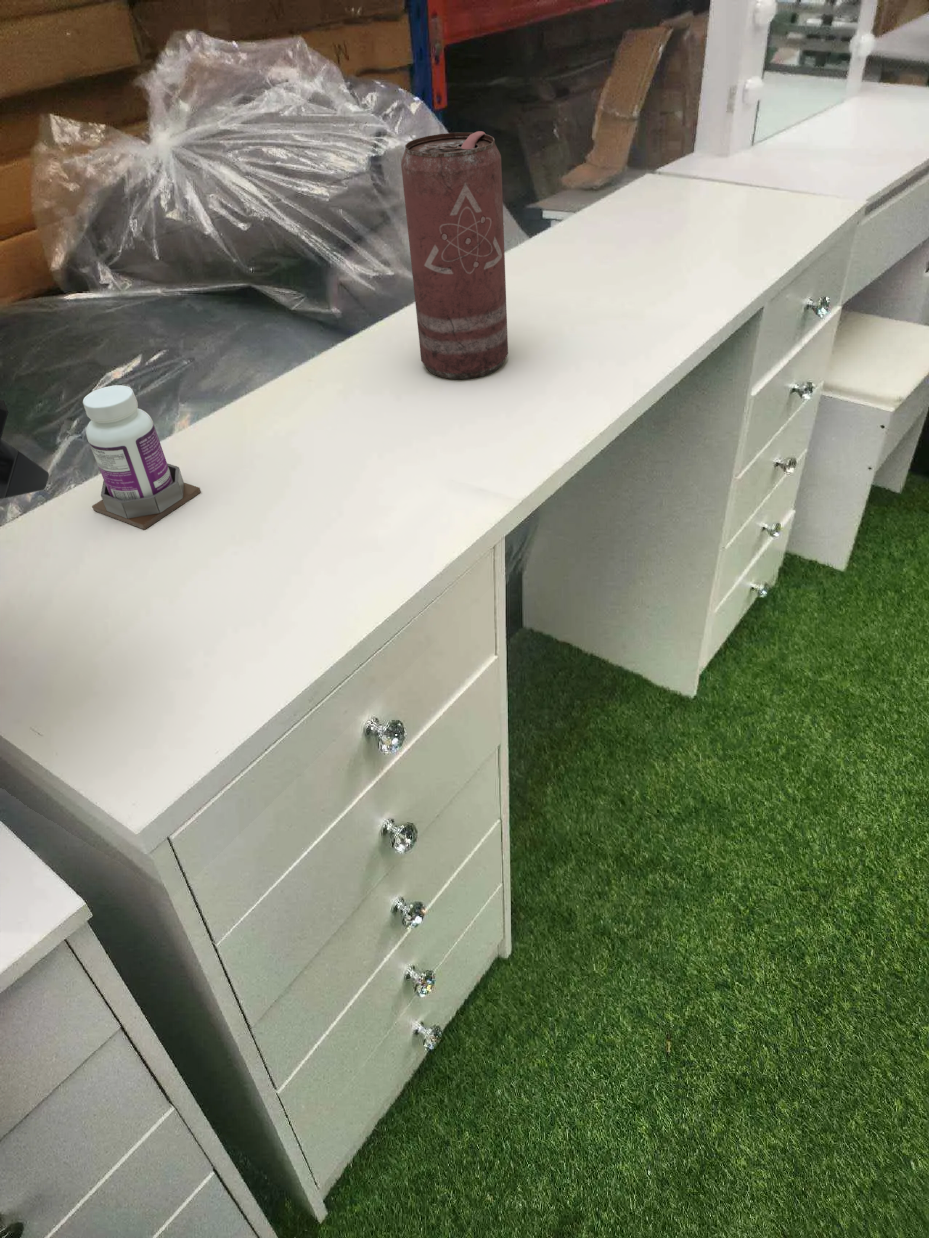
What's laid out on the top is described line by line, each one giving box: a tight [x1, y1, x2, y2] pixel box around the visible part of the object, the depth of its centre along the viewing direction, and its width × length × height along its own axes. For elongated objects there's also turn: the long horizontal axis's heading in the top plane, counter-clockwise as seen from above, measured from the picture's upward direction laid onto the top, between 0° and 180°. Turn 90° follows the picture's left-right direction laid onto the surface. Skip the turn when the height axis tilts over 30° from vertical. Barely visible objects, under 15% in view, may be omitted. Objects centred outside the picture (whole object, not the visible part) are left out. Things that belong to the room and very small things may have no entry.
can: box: [400, 130, 509, 380], centre depth 88 cm, size 9×10×22 cm
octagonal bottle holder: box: [91, 462, 202, 530], centre depth 76 cm, size 7×7×2 cm
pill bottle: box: [82, 384, 173, 501], centre depth 73 cm, size 5×5×10 cm
